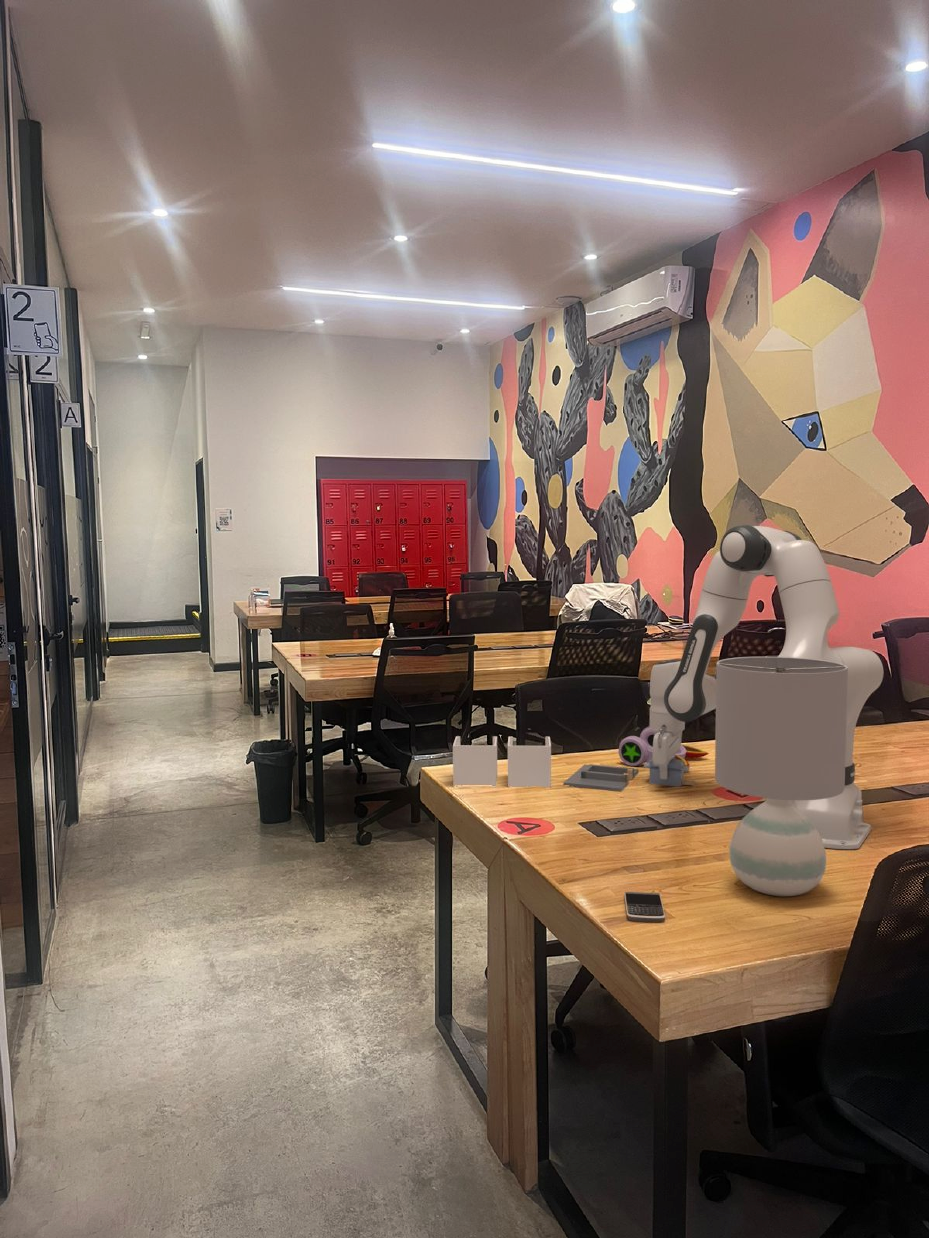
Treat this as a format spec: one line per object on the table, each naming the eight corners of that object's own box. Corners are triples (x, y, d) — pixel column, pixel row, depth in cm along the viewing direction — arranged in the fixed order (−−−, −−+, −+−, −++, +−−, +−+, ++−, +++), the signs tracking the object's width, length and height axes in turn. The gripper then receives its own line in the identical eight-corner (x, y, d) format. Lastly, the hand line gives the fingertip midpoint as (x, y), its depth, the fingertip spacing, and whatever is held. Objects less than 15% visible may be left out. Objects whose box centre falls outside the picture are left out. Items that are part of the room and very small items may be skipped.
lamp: (832, 870, 165) (838, 658, 161) (850, 918, 144) (857, 675, 140) (713, 860, 170) (716, 655, 167) (713, 905, 150) (716, 671, 146)
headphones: (641, 725, 262) (707, 723, 251) (644, 757, 262) (710, 757, 251) (615, 737, 245) (684, 736, 234) (619, 772, 245) (688, 772, 234)
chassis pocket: (621, 791, 219) (621, 781, 219) (563, 785, 225) (563, 775, 224) (638, 772, 237) (638, 763, 237) (584, 767, 243) (584, 758, 243)
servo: (692, 788, 222) (693, 761, 221) (643, 783, 226) (643, 757, 226) (695, 784, 225) (695, 758, 225) (646, 779, 230) (647, 753, 230)
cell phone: (627, 924, 144) (627, 915, 144) (623, 897, 155) (623, 889, 154) (665, 925, 143) (665, 917, 143) (659, 898, 154) (659, 891, 154)
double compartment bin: (453, 787, 225) (452, 745, 224) (456, 776, 236) (456, 736, 235) (551, 788, 223) (550, 746, 222) (549, 777, 234) (549, 736, 233)
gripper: (672, 731, 214) (671, 786, 215) (686, 715, 233) (685, 766, 234) (646, 729, 217) (646, 783, 218) (662, 714, 235) (661, 764, 236)
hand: (666, 774), depth 226 cm, fingers open, 6 cm apart
